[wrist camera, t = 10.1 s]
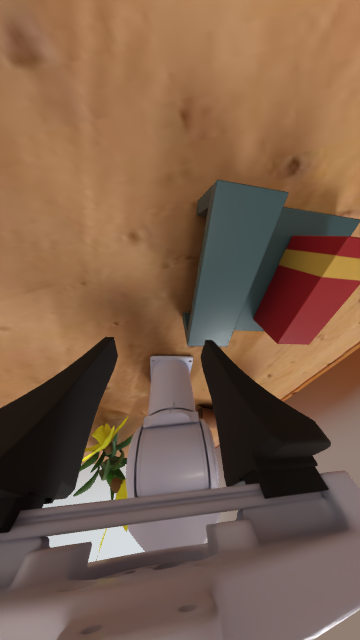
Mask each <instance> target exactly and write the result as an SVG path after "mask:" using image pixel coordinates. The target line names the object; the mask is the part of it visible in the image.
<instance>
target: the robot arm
mask: <svg viewBox="0 0 360 640" xmlns="http://www.w3.org/2000/svg"><path fill="white" fill-rule="evenodd" d="M117 357H118V354H117V350H116V345H115V340H114V337H105V338H104V339H102V340H101V341H100V342H99V343H98V344H96V345H95V346H94V347H93V348H92V349H90V350H89V351H88V352H87V353H85V354H84V355H83V356H82V357H81V358H79V359H78V360H77V361H75V362H74V363H73V364H71V365H70V366H69V367H67V368H66V369H65V370H63V371H62V372H60V373H59V374H57V375H56V376H54V377H53V378H51V379H50V380H48V381H47V382H45V383H44V384H42V385H40V386H39V387H37V388H35V389H34V390H32V391H30V392H29V393H27V394H25V395H23V396H22V397H20V398H18V399H17V400H15V401H13V402H11V403H9V404H7V405H6V406H4V407H2V408H0V640H313V639H315V638H317V637H318V636H320V635H321V634H323V633H324V632H326V631H328V630H329V629H331V628H332V627H334V626H335V625H337V624H338V623H340V622H341V621H343V620H345V619H346V618H348V617H349V616H351V615H352V614H354V613H355V612H357V611H359V610H360V489H359V487H358V486H357V485H356V483H355V482H354V481H353V479H352V478H351V477H350V475H349V474H348V473H347V472H346V471H336V472H327V473H322V474H319V472H318V471H317V469H316V468H315V466H317V462H316V461H315V459H314V458H313V455H315V454H317V453H319V452H321V451H323V450H325V449H327V448H328V447H330V445H331V442H330V440H329V439H328V438H327V437H326V435H325V434H324V433H323V431H322V430H321V429H320V428H319V426H318V425H317V424H316V423H315V421H313V420H312V419H310V418H309V417H307V416H305V415H303V414H302V413H300V412H298V411H297V410H295V409H293V408H292V407H290V406H289V405H287V404H286V403H284V402H283V401H281V400H280V399H278V398H277V397H275V396H274V395H272V394H271V393H269V392H268V391H267V390H265V389H264V388H263V387H261V386H260V385H259V384H257V383H256V382H255V381H254V380H252V379H251V378H250V377H249V376H248V375H246V374H245V373H244V372H243V371H242V370H241V369H240V368H239V367H238V366H237V365H236V364H234V363H233V362H232V361H231V360H230V358H229V357H228V356H227V355H226V354H225V353H224V352H223V351H222V350H221V349H220V348H219V347H218V345H217V344H216V343H215V342H214V341H213V340H205V343H204V347H203V350H202V354H201V362H202V368H203V372H204V375H205V378H206V382H207V385H208V388H209V392H210V395H211V399H212V403H213V408H214V413H215V419H216V424H217V430H218V436H219V442H220V448H221V456H222V463H223V470H224V478H225V481H226V486H227V487H223V488H219V486H218V479H219V474H218V464H217V457H216V452H215V446H214V442H213V437H212V434H211V430H210V428H209V425H208V424H207V423H206V422H205V421H204V419H199V416H198V412H196V410H195V404H194V398H193V391H192V385H191V379H190V372H191V367H192V363H193V357H192V356H151V357H150V368H151V390H150V400H149V409H148V417H144V424H143V425H141V426H139V427H138V428H137V430H136V431H135V433H134V435H133V437H132V440H131V443H130V447H129V452H128V458H127V467H126V489H127V499H118V500H109V501H100V502H92V503H84V504H74V505H66V506H57V507H48V508H42V506H43V504H49V503H52V502H53V501H54V500H55V499H65V498H67V497H68V496H69V495H70V494H71V493H72V492H73V490H74V489H75V486H76V482H77V478H78V474H79V470H80V467H81V463H82V459H83V455H84V452H85V448H86V445H87V441H88V438H89V434H90V431H91V428H92V425H93V421H94V418H95V415H96V412H97V409H98V406H99V403H100V401H101V398H102V396H103V394H104V391H105V389H106V387H107V384H108V382H109V380H110V377H111V375H112V373H113V370H114V368H115V364H116V361H117ZM234 510H239V511H238V513H237V519H236V520H235V521H228V522H221V523H217V522H218V520H219V517H220V512H227V511H234ZM125 525H128V530H129V532H130V533H131V534H132V536H133V537H134V538H135V540H136V541H137V542H138V544H139V545H140V546H141V547H142V548H143V550H144V551H145V552H142V553H137V554H131V555H126V556H121V557H116V558H110V559H105V560H100V561H95V562H90V563H88V559H89V555H90V551H91V546H92V543H91V542H86V543H79V544H72V545H65V546H60V547H54V548H50V547H49V538H48V537H46V536H53V535H60V534H67V533H75V532H82V531H89V530H96V529H103V528H110V527H118V526H125ZM206 541H208V543H206Z"/></svg>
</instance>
